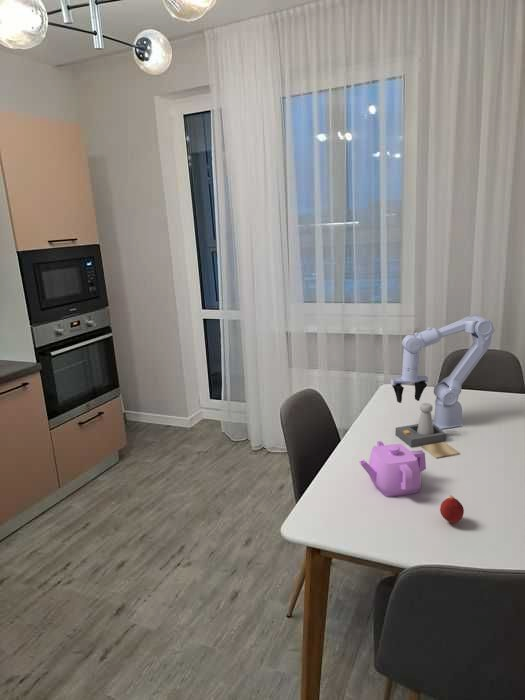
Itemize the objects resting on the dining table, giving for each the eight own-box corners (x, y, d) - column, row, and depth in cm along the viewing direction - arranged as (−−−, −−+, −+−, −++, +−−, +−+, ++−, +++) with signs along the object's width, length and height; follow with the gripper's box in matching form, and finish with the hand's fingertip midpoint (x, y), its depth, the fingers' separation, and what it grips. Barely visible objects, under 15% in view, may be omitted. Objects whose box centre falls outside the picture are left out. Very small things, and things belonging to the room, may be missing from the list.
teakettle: (411, 505, 139) (413, 465, 136) (356, 489, 149) (356, 452, 145) (429, 478, 152) (431, 442, 149) (377, 465, 162) (378, 431, 159)
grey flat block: (428, 429, 186) (429, 420, 185) (446, 441, 176) (446, 432, 175) (395, 435, 183) (395, 426, 182) (411, 447, 173) (411, 438, 172)
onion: (463, 518, 132) (465, 492, 130) (462, 531, 127) (463, 503, 125) (440, 514, 134) (441, 488, 132) (438, 526, 129) (439, 499, 127)
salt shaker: (414, 434, 182) (415, 402, 179) (429, 433, 183) (430, 400, 180) (420, 441, 177) (421, 407, 174) (436, 440, 177) (437, 406, 174)
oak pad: (444, 443, 175) (444, 441, 174) (459, 454, 166) (460, 452, 166) (421, 447, 173) (421, 445, 172) (436, 458, 164) (436, 457, 164)
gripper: (421, 362, 189) (419, 395, 193) (387, 365, 186) (385, 399, 189) (432, 367, 183) (429, 401, 186) (396, 371, 179) (394, 405, 183)
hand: (408, 401), depth 187 cm, fingers open, 7 cm apart
